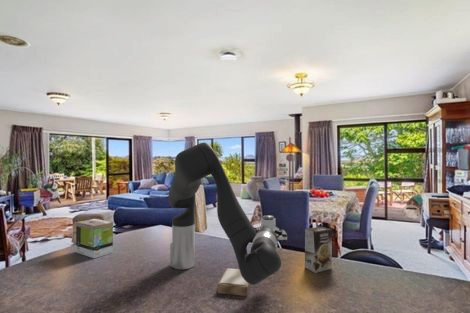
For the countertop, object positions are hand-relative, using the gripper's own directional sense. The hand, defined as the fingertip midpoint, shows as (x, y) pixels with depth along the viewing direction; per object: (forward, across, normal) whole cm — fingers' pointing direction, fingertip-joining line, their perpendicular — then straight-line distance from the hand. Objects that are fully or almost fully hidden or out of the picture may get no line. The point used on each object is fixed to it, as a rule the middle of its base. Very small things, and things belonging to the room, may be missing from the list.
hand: (268, 229), depth 101 cm
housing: (-3, 0, +8) cm, 8 cm away
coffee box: (+14, -19, +19) cm, 30 cm away
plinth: (-7, +11, +19) cm, 23 cm away
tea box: (+13, +83, +19) cm, 86 cm away
